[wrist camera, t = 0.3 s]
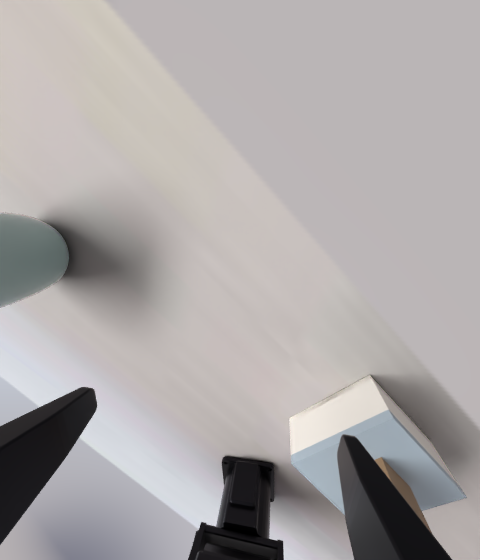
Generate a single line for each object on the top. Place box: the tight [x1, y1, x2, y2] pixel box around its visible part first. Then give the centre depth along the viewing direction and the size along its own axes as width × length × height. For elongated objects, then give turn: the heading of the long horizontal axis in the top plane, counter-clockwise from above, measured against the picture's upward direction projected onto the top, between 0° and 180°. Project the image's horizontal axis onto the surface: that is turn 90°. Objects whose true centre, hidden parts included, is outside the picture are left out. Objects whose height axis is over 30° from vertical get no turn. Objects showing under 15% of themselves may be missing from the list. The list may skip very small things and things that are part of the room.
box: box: [289, 375, 458, 484], centre depth 22 cm, size 10×10×4 cm
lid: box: [291, 410, 467, 533], centre depth 18 cm, size 10×10×6 cm
